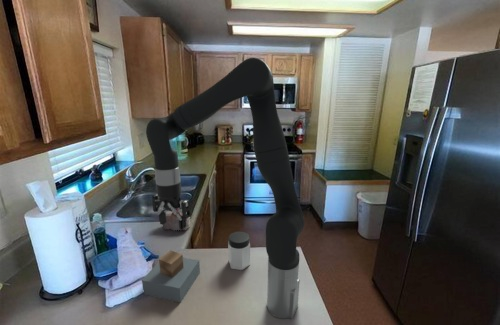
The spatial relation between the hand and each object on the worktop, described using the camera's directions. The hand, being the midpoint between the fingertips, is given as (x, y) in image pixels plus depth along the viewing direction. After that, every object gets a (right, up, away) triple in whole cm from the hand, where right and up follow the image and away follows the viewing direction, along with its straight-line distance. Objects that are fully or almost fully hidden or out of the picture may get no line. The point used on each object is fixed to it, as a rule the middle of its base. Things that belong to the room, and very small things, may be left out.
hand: (172, 226), depth 79 cm
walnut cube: (-1, -17, +3) cm, 17 cm away
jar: (+22, -19, +16) cm, 33 cm away
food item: (-11, -12, +41) cm, 45 cm away
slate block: (-1, -22, +5) cm, 23 cm away
